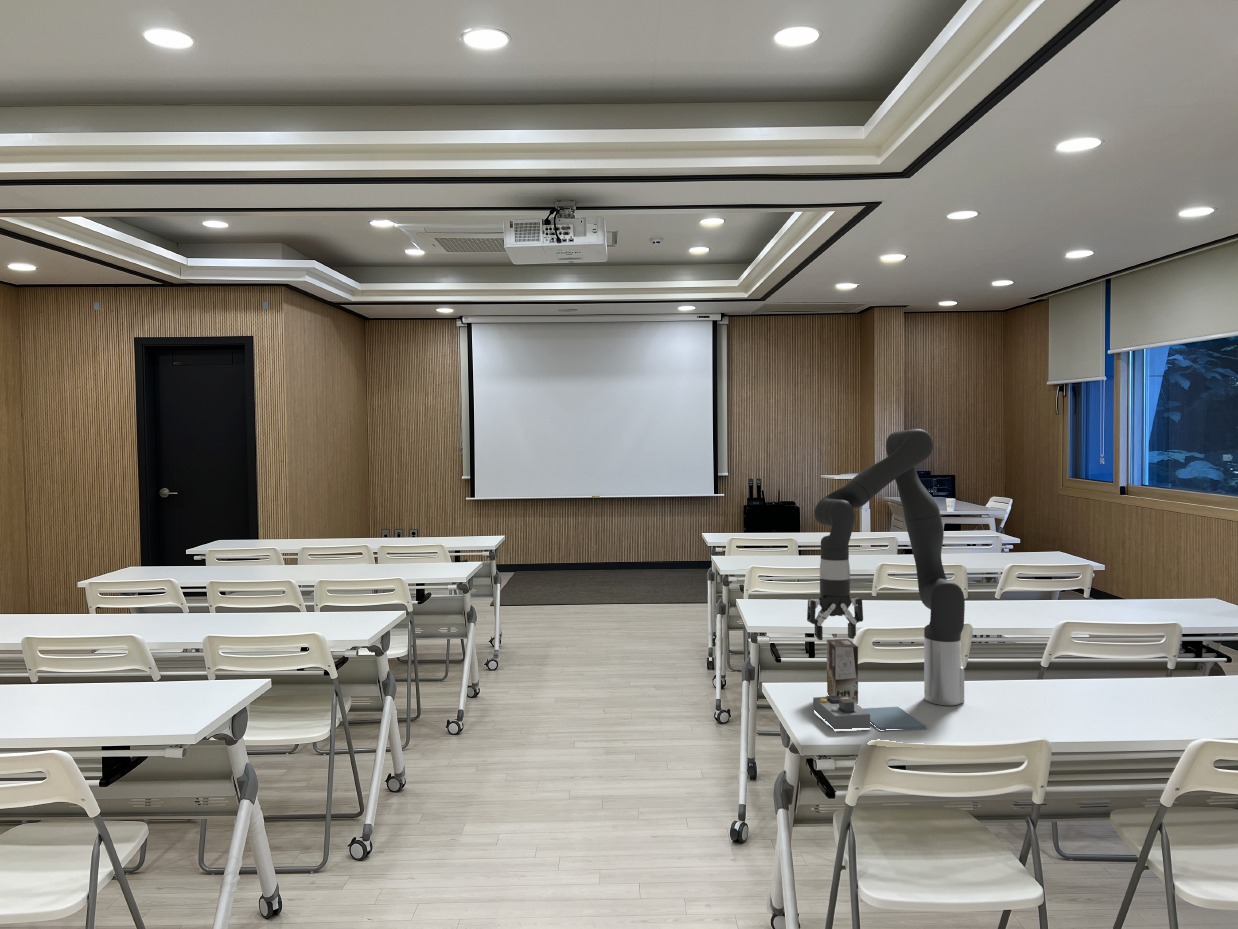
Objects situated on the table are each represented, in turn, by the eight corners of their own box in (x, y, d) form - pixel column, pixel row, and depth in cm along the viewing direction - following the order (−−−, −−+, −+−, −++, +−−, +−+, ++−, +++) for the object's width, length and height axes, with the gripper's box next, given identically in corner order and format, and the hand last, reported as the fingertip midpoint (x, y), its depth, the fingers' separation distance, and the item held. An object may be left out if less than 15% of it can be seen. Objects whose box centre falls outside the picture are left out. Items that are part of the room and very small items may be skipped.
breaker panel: (813, 712, 195) (813, 695, 195) (846, 711, 197) (845, 693, 196) (835, 732, 182) (835, 713, 181) (870, 730, 183) (870, 711, 183)
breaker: (839, 710, 187) (839, 699, 187) (849, 709, 187) (848, 698, 187) (844, 714, 184) (844, 702, 184) (854, 713, 184) (854, 702, 184)
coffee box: (859, 706, 200) (858, 646, 200) (835, 706, 200) (834, 646, 200) (849, 695, 209) (849, 638, 209) (826, 695, 209) (826, 638, 209)
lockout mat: (898, 709, 197) (898, 706, 197) (926, 728, 183) (926, 725, 183) (854, 712, 196) (854, 708, 196) (879, 731, 182) (879, 728, 182)
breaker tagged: (828, 707, 194) (827, 696, 194) (837, 706, 194) (837, 695, 194) (832, 710, 191) (832, 700, 191) (842, 710, 191) (842, 699, 191)
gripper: (854, 573, 197) (855, 634, 197) (802, 574, 195) (803, 636, 195) (867, 577, 189) (868, 641, 190) (813, 579, 188) (814, 643, 188)
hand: (835, 638), depth 192 cm, fingers open, 8 cm apart
